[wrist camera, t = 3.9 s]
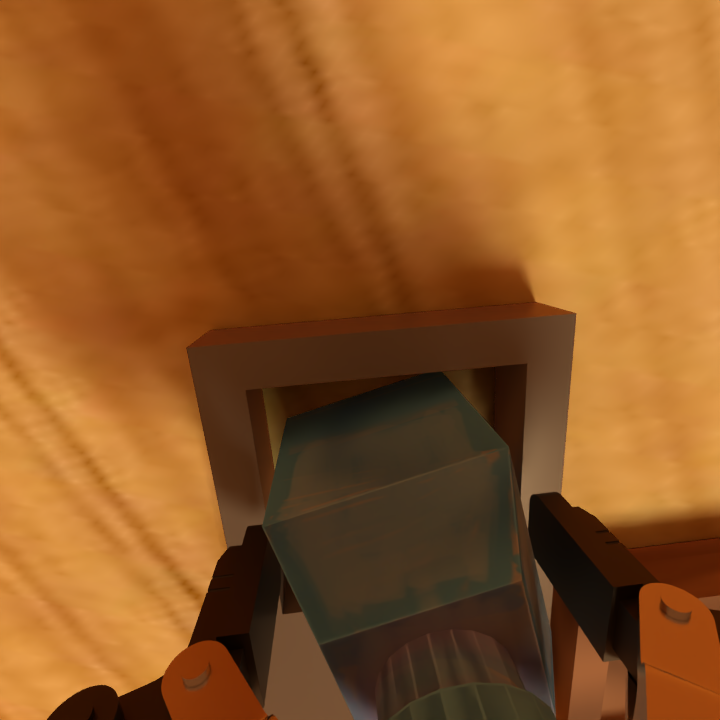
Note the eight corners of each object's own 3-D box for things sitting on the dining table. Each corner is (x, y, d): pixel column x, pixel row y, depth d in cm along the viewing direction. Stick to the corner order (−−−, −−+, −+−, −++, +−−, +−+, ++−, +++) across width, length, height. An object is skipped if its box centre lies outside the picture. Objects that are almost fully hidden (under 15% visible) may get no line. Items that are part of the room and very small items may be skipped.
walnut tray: (543, 559, 18) (579, 613, 16) (786, 529, 19) (861, 576, 16) (530, 737, 22) (558, 806, 19) (736, 707, 22) (791, 769, 20)
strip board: (210, 330, 14) (176, 354, 11) (536, 302, 15) (592, 317, 12) (276, 691, 19) (266, 779, 16) (516, 658, 20) (552, 736, 17)
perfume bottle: (286, 418, 15) (171, 921, 4) (438, 368, 15) (767, 736, 4) (337, 541, 17) (358, 1132, 6) (473, 497, 17) (769, 1009, 6)
